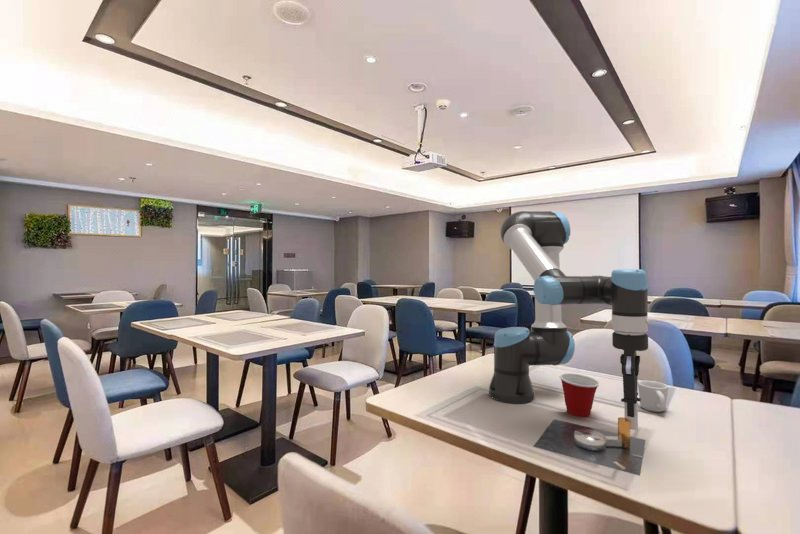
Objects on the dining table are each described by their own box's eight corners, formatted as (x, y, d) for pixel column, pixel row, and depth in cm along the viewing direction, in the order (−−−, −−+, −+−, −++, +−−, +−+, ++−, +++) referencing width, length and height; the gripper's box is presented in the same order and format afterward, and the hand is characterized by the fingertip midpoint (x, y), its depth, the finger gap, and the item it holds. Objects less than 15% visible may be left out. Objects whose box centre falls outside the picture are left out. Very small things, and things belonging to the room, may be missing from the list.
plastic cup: (592, 429, 106) (592, 386, 106) (553, 418, 113) (553, 377, 113) (604, 418, 113) (605, 377, 113) (567, 408, 121) (567, 370, 121)
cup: (677, 418, 113) (677, 391, 113) (647, 416, 115) (648, 390, 114) (660, 405, 124) (660, 381, 123) (633, 403, 125) (633, 379, 125)
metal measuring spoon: (580, 449, 90) (580, 423, 90) (569, 436, 97) (570, 412, 97) (637, 452, 89) (637, 425, 89) (622, 438, 96) (622, 414, 96)
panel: (533, 452, 93) (533, 445, 93) (553, 424, 109) (554, 418, 109) (639, 482, 80) (640, 474, 80) (645, 445, 96) (645, 439, 96)
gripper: (646, 338, 86) (648, 442, 86) (649, 329, 96) (650, 422, 97) (609, 335, 90) (610, 434, 90) (615, 327, 101) (616, 416, 101)
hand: (631, 428), depth 93 cm, fingers closed
